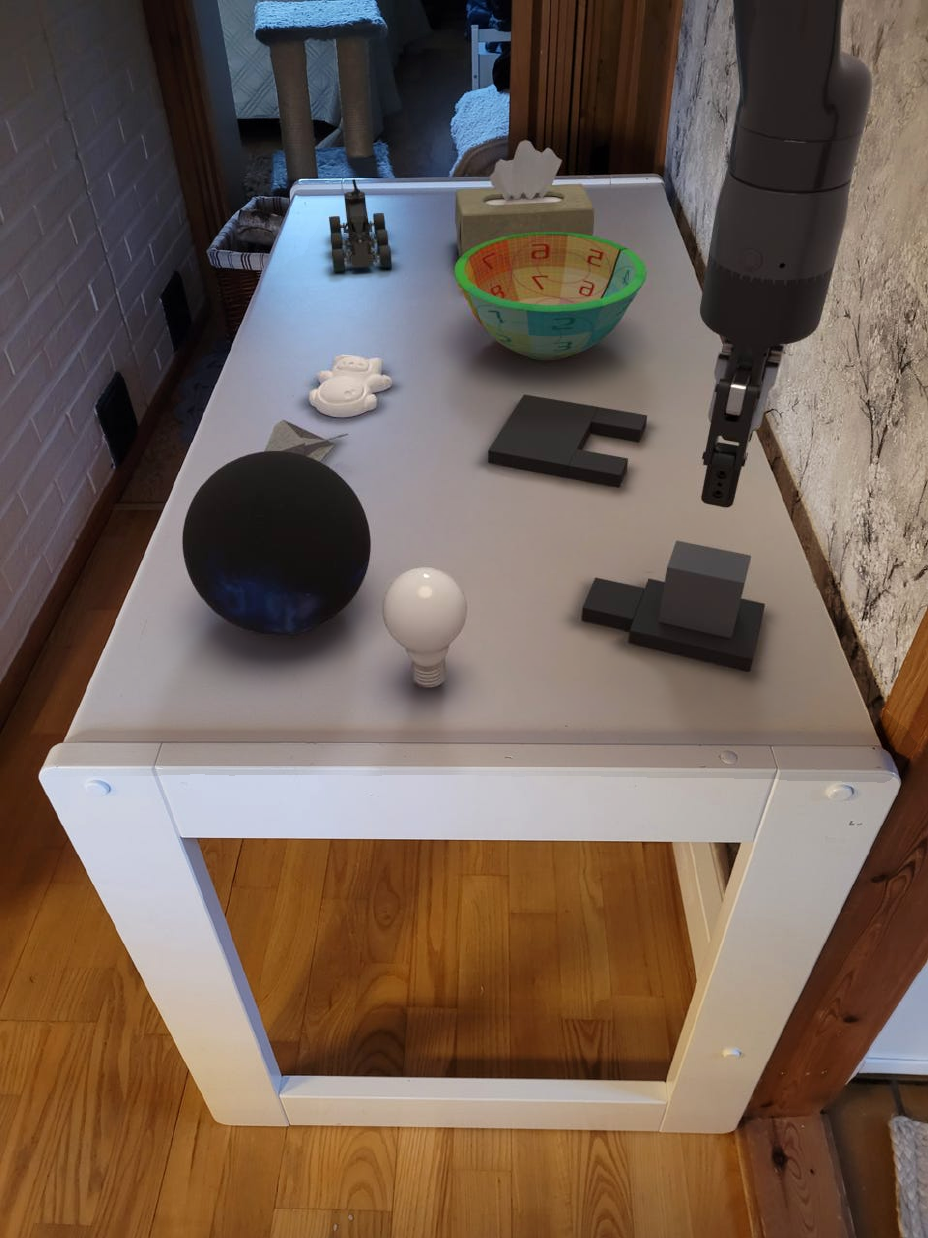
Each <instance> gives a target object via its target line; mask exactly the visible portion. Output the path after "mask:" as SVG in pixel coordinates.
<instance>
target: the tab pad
mask: <svg viewBox="0 0 928 1238" xmlns="http://www.w3.org/2000/svg"><path fill="white" fill-rule="evenodd" d="M751 558H752V555H750V554H746V553H740V552H735V551H730V550H724V549H720V548H717V547H711V546H706V545H701V544H696V543H692V542H687V541H681V540H676V541H675V542H674V545H673V549H672V551H671V555H670V557H669V560H668V563H667V566H666V571H665V577H664V581H663V580H659V579H653V578H648V579H647V582H646V584H645V587H642V586H636V585H632V584H628V583H623V582H618V581H614V580H610V579H605V578H600V577H594V579H593V581H592V584H591V586H590V589H589V591H588V593H587V596H586V598H585V601H584V602H583V603H584V604H583V605H582V610H581V621H583V622H587V623H591V624H595V625H600V626H605V627H609V628H613V629H618V630H621V631H625V632H628V633H629V634H628V644H631V645H636V646H641V647H644V648H649V649H653V650H657V651H661V652H665V653H668V654H669V653H670V654H674V655H678V656H681V657H687V658H691V659H695V660H699V661H702V662H703V661H704V662H708V663H713V664H717V665H721V666H724V667H728V668H733V669H736V670H737V669H738V670H742V671H746V672H750V671H752V670H751V669H752V666H753V662H754V658H755V653H756V649H757V643H758V639H759V634H760V631H761V625H762V621H763V617H764V611H765V608H766V607H765V606H766V604H765V603H764V602H760V601H755V600H751V599H746V598H742V596H743V592H744V589H745V584H746V580H747V576H748V571H749V567H750V563H751Z"/></svg>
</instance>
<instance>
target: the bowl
mask: <svg viewBox="0 0 928 1238" xmlns="http://www.w3.org/2000/svg"><path fill="white" fill-rule="evenodd" d="M647 274H648V273H647V267H646V265H645V263H644V261H643V260H642V259H641V257H639V255H637V254H636V253H635V252H634V251H632V250H630V249H629V248H627V247H626V246H623V245H621V244H619V243H617V242H614V241H611V240H609V239H605V238H601V237H597V236H594V235H592V236H588V235H583V234H575V233H565V232H533V233H523V234H515V235H510V236H504V237H500V238H497V239H493V240H490V241H487V242H484V243H482V244H480V245H478V246H476V247H474V248H472V249H470V250H469V251H467V252H466V253H464V254H463V255H462V257H461V258H460V257H459V259H457V262H456V263H455V265H454V270H453V275H454V279H455V281H456V283H457V285H458V286H459V288H461V292H462V295H463V297H464V298H465V300H466V301H467V302H468V305H469V308H470V309H471V312H472V314H473V315H474V317H475V319H476V320H477V322H478V323H479V324H480V326H481V328H482V329H484V330H485V332H487V334H488V335H489V336H490V337H492V338H493V339H494V340H495V341H496V342H498V343H499V344H500V345H502V346H503V347H505V348H507V349H509V350H510V351H512V352H515V353H517V354H519V355H522V356H525V357H527V358H530V359H533V360H538V361H557V360H561V359H565V358H568V357H570V356H572V355H576V354H579V353H582V352H584V351H586V350H589V349H590V348H591V347H593V346H595V345H597V344H598V343H599V342H601V341H603V339H604V338H606V337H607V336H608V335H609V334H610V333H611V332H612V331H613V330H614V329H615V328H616V326H617V325H618V324H619V323H620V321H621V320H622V319H623V317H624V316H625V314H626V312H627V310H628V308H629V306H630V305H631V303H632V302H634V300H635V298H636V297H637V294H638V292H639V290H640V289H642V287H643V285H644V283H645V282H646V278H647Z"/></svg>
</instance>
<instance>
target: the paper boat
mask: <svg viewBox="0 0 928 1238" xmlns="http://www.w3.org/2000/svg"><path fill="white" fill-rule="evenodd" d="M348 435H349V433H348V432H347V433H343V434H339V435H337V436H334V437H330V438H328V439H325V438H323V437H322V436H319V435H317V434H315V433H313V432H310V431H309V430H306V429H305V428H303V427H300V426H298V425H296V424H293V423H292V422H289V421H288V420H285V419H281V420H280V421H279V422H278V423H276V424H275V425H274V426H273V428H272V431H271V433H270V436H269V438H268V441H267V443H266V446H265V448H264V451H286V452H293V453H297V454H301V455H305V456H307V457H310V458H313V459H315V460H317V461H319V462H321V461H322V460H323V458H324V457H326V455H327V454H329V452H330V451H331V450H332V449H333V448H334V446H335V445H336V444H335V443H334V442H332V441H331V440H334V439H340V438H342V437H346V436H348ZM264 451H263V452H264Z"/></svg>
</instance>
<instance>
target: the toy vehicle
mask: <svg viewBox="0 0 928 1238" xmlns="http://www.w3.org/2000/svg"><path fill="white" fill-rule="evenodd" d="M352 185H353V190H352V191H347V192H345V193H344V194H343V198H344V206H345V216H346V217H345V218H346V223H345V222H342V224H341V217H340V215H334V216H328V221H329V230H330V245H331V259H332V265H333V271H334V273H341V272H345V271H346V265H347V266H350V265H351V267H352V269H353V268H364V267H365V268H366V267H374V266H375V265H374V263H375V264H378V260H379V266H380V267H379V268H380V269H390V268H392V267H393V264H392V262H393V261H392V252H391V245H389V236H388V235H389V234H388V229H386V219H385V213H384V212H374V213H373V214H372V219H373V222H372V221H371V220H369V217H368V215H369V214H368V210H367V201H366V195H365V194H366V193H365V192H364V191H361V190H360V189H359V188H358V186H357V182H356V178H354V179H352ZM342 229H343V233H342ZM373 229H374V230H373ZM373 231H374V235H375V236H374V235H372V236H371V234H372V233H373ZM344 233H346V234H344ZM344 235H348V237H344V241H343V236H344ZM375 238H376V239H375ZM375 248H377V250H373V249H375ZM344 249H345V251H350V252H346V253H344ZM345 256H346V257H345Z"/></svg>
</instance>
